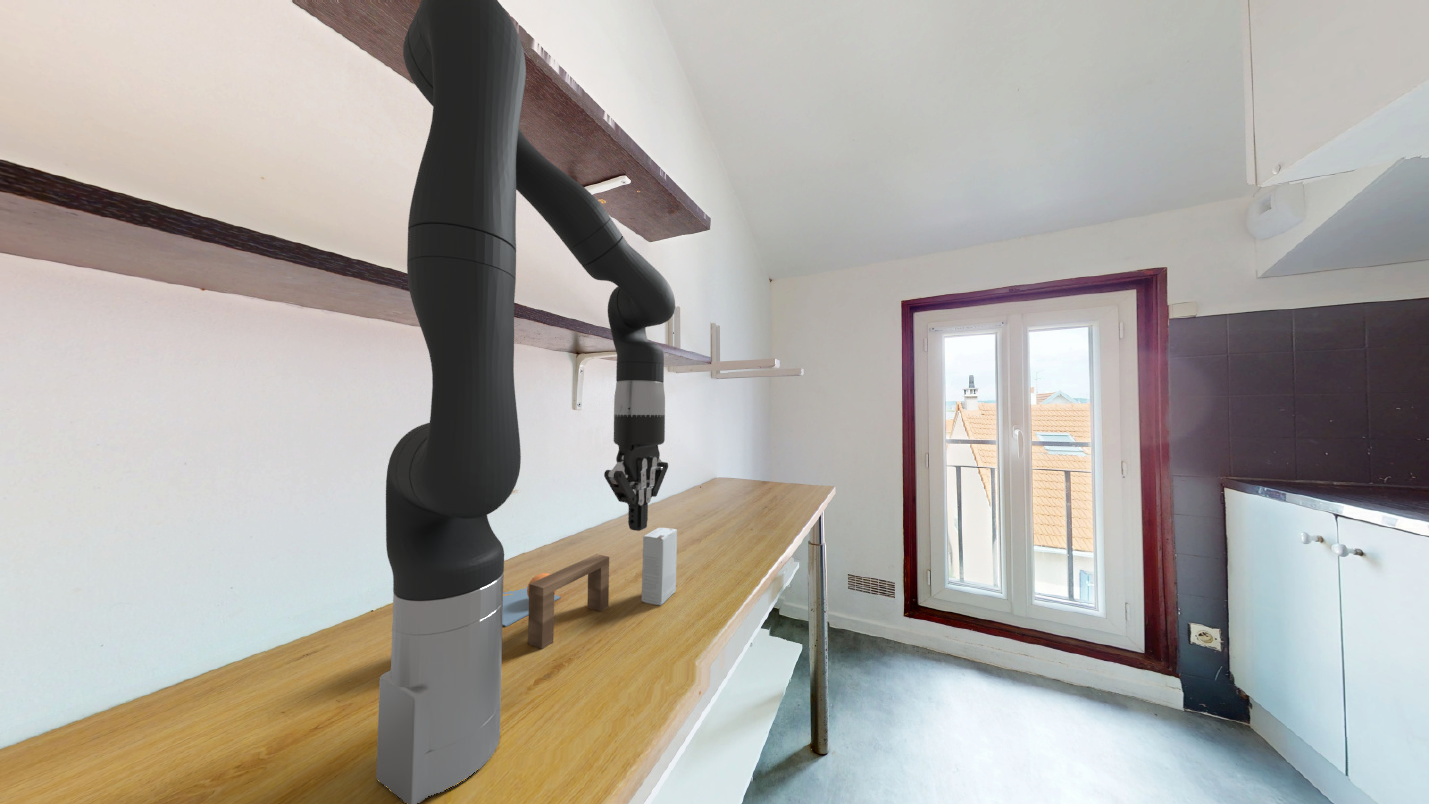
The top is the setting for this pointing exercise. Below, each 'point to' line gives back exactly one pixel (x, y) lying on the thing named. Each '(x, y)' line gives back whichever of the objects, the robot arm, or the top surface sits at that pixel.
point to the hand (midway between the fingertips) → (638, 528)
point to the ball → (538, 579)
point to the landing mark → (516, 606)
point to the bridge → (545, 587)
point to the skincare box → (659, 565)
